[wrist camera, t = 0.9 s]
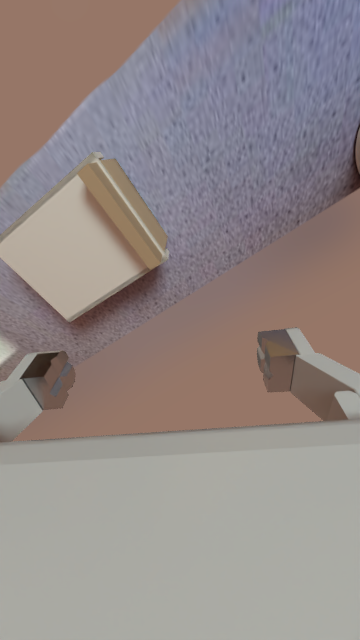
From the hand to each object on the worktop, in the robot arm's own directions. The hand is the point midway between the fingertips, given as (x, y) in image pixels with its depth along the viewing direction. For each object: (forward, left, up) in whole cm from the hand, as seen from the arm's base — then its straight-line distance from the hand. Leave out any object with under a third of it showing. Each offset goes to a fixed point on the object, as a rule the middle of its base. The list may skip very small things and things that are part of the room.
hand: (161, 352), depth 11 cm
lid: (+12, -4, -27) cm, 30 cm away
